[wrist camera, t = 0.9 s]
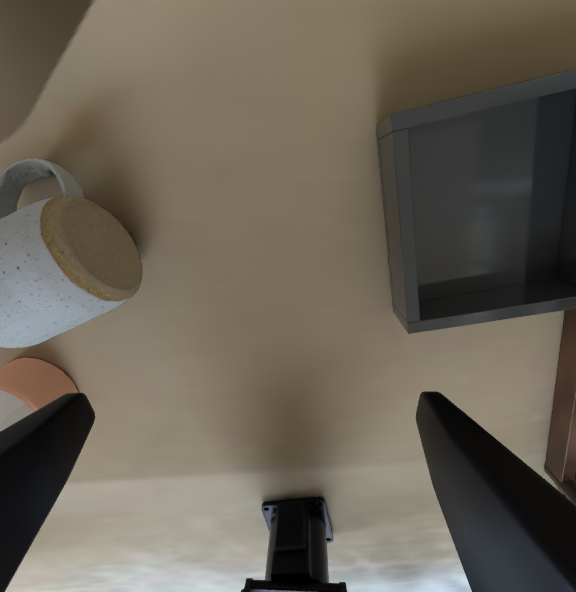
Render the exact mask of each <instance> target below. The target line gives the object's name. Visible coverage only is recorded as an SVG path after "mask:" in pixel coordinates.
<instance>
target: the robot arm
mask: <svg viewBox="0 0 576 592" xmlns="http://www.w3.org/2000/svg"><path fill="white" fill-rule="evenodd" d="M94 420H95V412H94V410H93V408H92V406H91V404H90V402H89V400H88V399H87V397H86V395H85V394H83V393H66V394H64V395H62V396H61V397H59V398H57V399H55V400H54V401H52V402H50V403H49V404H47V405H45V406H43V407H42V408H40V409H38V410H37V411H35V412H33V413H31V414H30V415H28V416H26V417H24V418H23V419H21V420H19V421H18V422H16V423H14V424H12V425H11V426H9V427H7V428H6V429H4V430H2V431H0V592H5V590H6V589H7V587H8V585H9V583H10V582H11V580H12V578H13V576H14V574H15V573H16V571H17V569H18V567H19V566H20V564H21V562H22V560H23V558H24V557H25V555H26V553H27V551H28V550H29V548H30V546H31V544H32V542H33V541H34V539H35V537H36V535H37V534H38V532H39V530H40V528H41V526H42V525H43V523H44V521H45V519H46V518H47V516H48V514H49V512H50V510H51V509H52V507H53V505H54V503H55V502H56V500H57V498H58V496H59V494H60V493H61V491H62V489H63V487H64V485H65V483H66V482H67V480H68V478H69V476H70V474H71V472H72V469H73V467H74V465H75V463H76V461H77V459H78V456H79V454H80V452H81V450H82V448H83V445H84V443H85V441H86V439H87V437H88V434H89V432H90V430H91V428H92V426H93V423H94ZM416 422H417V426H418V430H419V434H420V438H421V442H422V446H423V449H424V453H425V457H426V461H427V465H428V469H429V473H430V476H431V480H432V484H433V487H434V490H435V493H436V496H437V498H438V501H439V504H440V507H441V509H442V512H443V515H444V517H445V520H446V523H447V525H448V528H449V531H450V534H451V536H452V539H453V542H454V544H455V547H456V550H457V552H458V555H459V558H460V561H461V563H462V566H463V569H464V571H465V574H466V577H467V579H468V582H469V585H470V588H471V590H472V592H576V505H575V504H574V503H572V502H571V501H570V500H569V499H568V498H566V497H565V496H564V495H563V494H562V493H560V492H559V491H558V490H557V489H556V488H554V487H553V486H552V485H551V484H550V483H548V482H547V481H546V480H545V479H543V478H542V477H541V476H540V475H539V474H537V473H536V472H535V471H534V470H533V469H531V468H530V467H529V466H528V465H527V464H525V463H524V462H523V461H522V460H521V459H519V458H518V457H517V456H516V455H515V454H513V453H512V452H511V451H510V450H509V449H507V448H506V447H505V446H504V445H503V444H501V443H500V442H499V441H498V440H496V439H495V438H494V437H493V436H492V435H490V434H489V433H488V432H487V431H486V430H484V429H483V428H482V427H481V426H480V425H478V424H477V423H476V422H475V421H474V420H472V419H471V418H470V417H469V416H468V415H466V414H465V413H464V412H463V411H462V410H460V409H459V408H458V407H457V406H455V405H454V404H453V403H452V402H451V401H449V400H448V399H447V398H446V397H445V396H443V395H442V394H441V393H439V392H422V393H421V394H420V398H419V402H418V407H417V412H416ZM262 512H263V514H264V517H265V520H266V523H267V526H268V529H269V531H270V536H269V546H268V556H267V565H266V575H265V580H253V578H247V579H246V583H245V588H244V589H242V590H241V592H347V589H346V582H339V583H329V575H328V557H327V543H329V542H332V541H333V533H332V529H331V525H330V521H329V516H328V512H327V508H326V504H325V500H324V498H322V497H314V498H303V499H291V500H280V501H269V502H264V503H263V504H262Z"/></svg>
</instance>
